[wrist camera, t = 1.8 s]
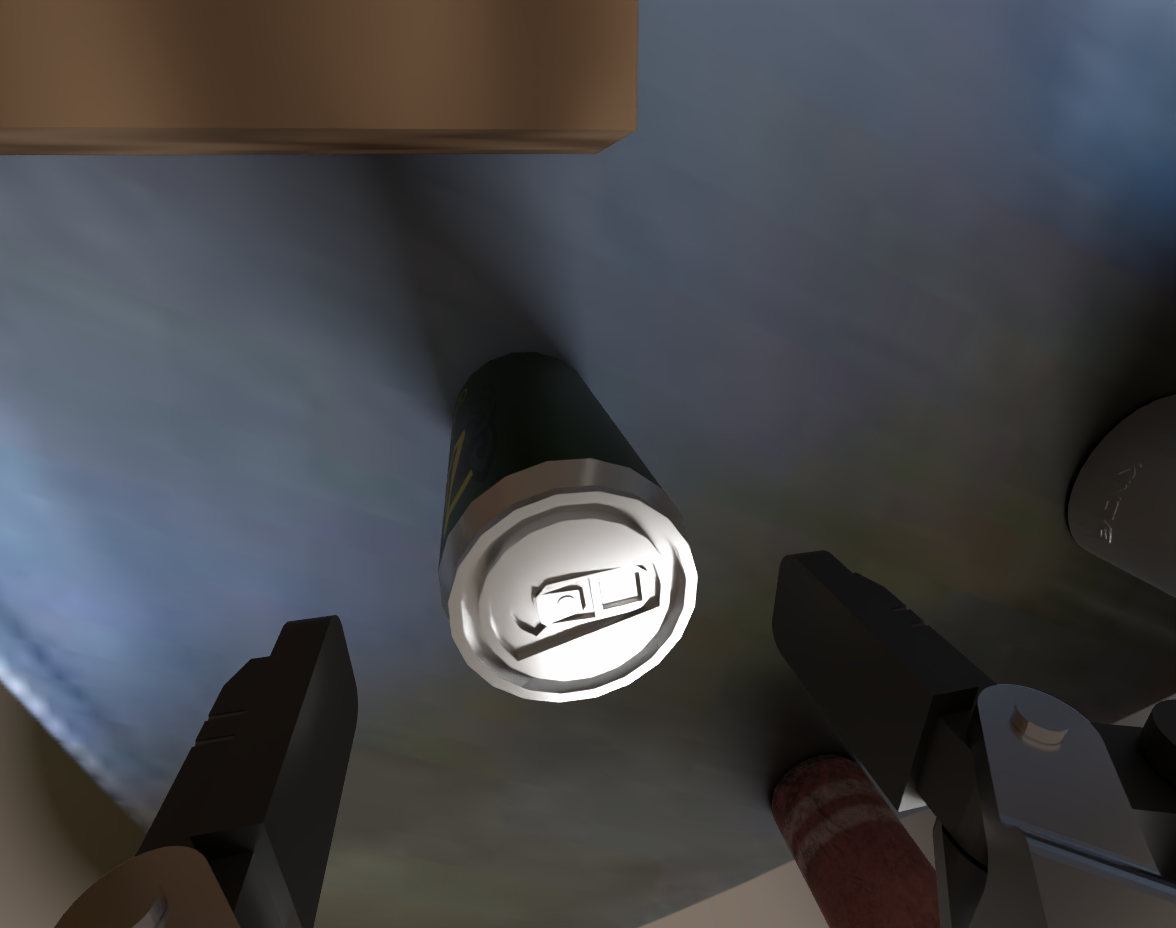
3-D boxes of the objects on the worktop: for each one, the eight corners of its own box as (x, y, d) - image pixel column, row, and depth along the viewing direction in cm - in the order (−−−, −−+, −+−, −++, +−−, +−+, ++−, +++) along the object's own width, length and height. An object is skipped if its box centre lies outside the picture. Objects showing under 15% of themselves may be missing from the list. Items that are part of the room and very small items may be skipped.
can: (855, 733, 33) (1093, 1047, 20) (862, 799, 36) (1077, 1113, 23) (760, 770, 33) (942, 1113, 20) (774, 834, 35) (943, 1172, 23)
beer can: (581, 335, 21) (699, 451, 10) (601, 464, 23) (715, 673, 12) (437, 362, 20) (399, 517, 10) (471, 492, 23) (472, 738, 12)
